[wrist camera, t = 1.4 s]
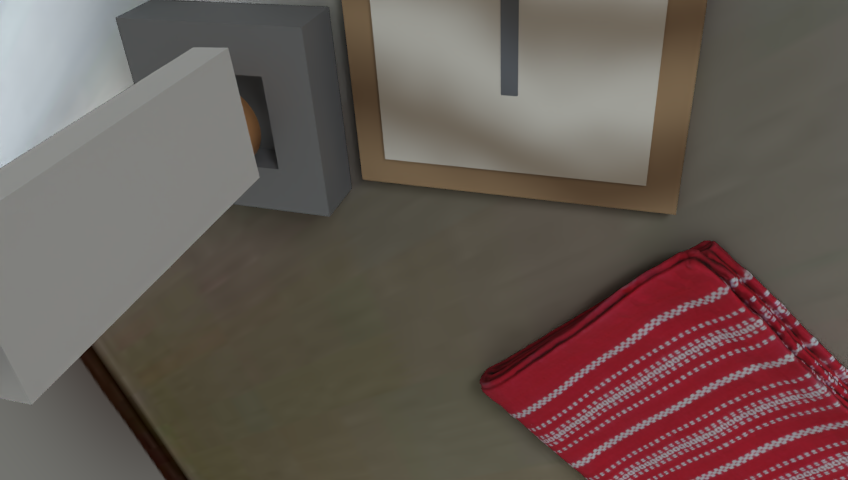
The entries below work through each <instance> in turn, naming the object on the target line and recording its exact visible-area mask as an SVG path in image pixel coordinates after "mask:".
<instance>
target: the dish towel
mask: <svg viewBox="0 0 848 480" xmlns="http://www.w3.org/2000/svg"><path fill="white" fill-rule="evenodd" d="M480 384H481V386H482V388H481V389H482V391H483V392H484V393H485V394H486V395H487V396H489V397H490V398H491V399H492V400H493V401H495V402H496V403H498V404H499V405H501V406H502V407H503V408H504V409H505V410H506V411H507V412H508V413H509V414H510V415H511V416H513V417H514V418H516V419H517V420H519V421H520V422H521V423H522V424H523V425H524V426H525V427H526V428H527V429H529V430H530V431H531V432H532V433H533V434H534V435H536V436H537V437H538V438H539V439H540V440H541V441H542V442H543V443H545V444H546V445H547V446H549V447H550V448H551V449H552V450H553V451H554V452H555V453H557V454H558V455H559V456H560V457H561V458H562V459H564V460H565V461H566V462H567V463H568V464H569V465H570V466H572V467H573V468H574V469H576V470H577V471H578V472H580V473H581V474H582V475H583V476H584V477H585V478H586V479H587V480H848V369H846V368H845V367H844V366H842V365H841V364H840V363H839V362H838V361H837V360H836V359H835V358H834V357H833V356H832V355H831V354H830V353H829V352H828V351H827V350H826V349H825V348H824V347H823V346H822V345H821V344H820V343H819V342H818V340H817V339H816V338H815V337H814V336H812V335H811V334H809V332H808V331H807V330H806V329H805V328H804V327H803V326H802V325H801V324H800V323H799V321H798V320H797V319H796V318H795V317H794V316H793V315H792V314H791V313H790V312H789V311H788V310H787V309H786V307H785V306H784V305H783V304H782V303H781V302H780V301H778V300H777V299H776V298H775V297H774V296H772V295H771V293H770V292H769V291H768V290H767V289H766V288H765V287H764V286H763V285H762V284H761V283H760V282H759V281H758V280H757V279H756V278H755V277H754V276H753V275H752V274H751V273H750V272H749V271H747V270H746V269H744V268H743V267H742V266H740V265H739V264H738V263H737V262H735V261H734V260H733V258H732V257H731V256H730V255H729V254H728V253H727V252H726V251H725V250H724V249H723V248H721V247H720V246H719V245H718V244H717V243H716V242H715V241H712V242H711V241H703V242H701V243H700V244H698V245H696V246H695V247H692V248H691V249H689V250H686V251H684V252H679V253H677V254H676V255H674V256H672V257H671V258H669V259H667V260H666V261H664V262H662V263H661V264H659V265H658V266H656V267H654V268H652V269H650V270H648V271H646V272H644V273H643V274H641V275H640V276H638V277H637V278H635V279H634V280H633V281H631V282H630V283H628V284H627V285H625V286H624V287H622V288H620V289H619V290H618V291H616V292H615V293H614V294H612V295H611V296H610V297H608V298H607V299H605V300H603V301H602V302H600V303H599V304H597V305H595V306H594V307H592V308H590V309H588V310H587V311H585V312H583V313H582V314H580V315H578V316H577V317H575V318H574V319H572V320H570V321H568V322H567V323H565V324H564V325H562V326H560V327H558V328H556V329H554V330H553V331H551V332H550V333H548V334H547V335H545V336H544V337H542V338H541V339H539V340H537V341H536V342H534V343H532V344H530V345H528V346H527V347H526V348H524V349H522V350H521V351H519V352H517V353H516V354H514V355H512V356H510V357H509V358H507V359H506V360H504V361H502V362H500V363H497V364H495V365H494V366H492V367H489V368H488V369H487V370H486V371H485V373H484V374H483V375H482V377H481V379H480Z"/></svg>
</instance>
